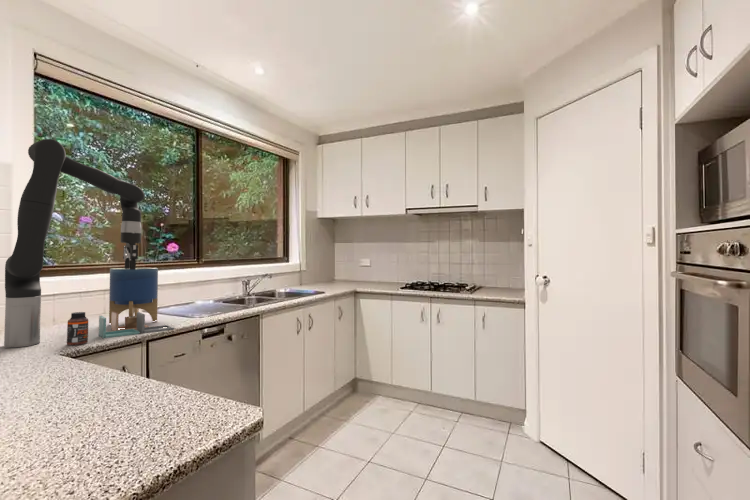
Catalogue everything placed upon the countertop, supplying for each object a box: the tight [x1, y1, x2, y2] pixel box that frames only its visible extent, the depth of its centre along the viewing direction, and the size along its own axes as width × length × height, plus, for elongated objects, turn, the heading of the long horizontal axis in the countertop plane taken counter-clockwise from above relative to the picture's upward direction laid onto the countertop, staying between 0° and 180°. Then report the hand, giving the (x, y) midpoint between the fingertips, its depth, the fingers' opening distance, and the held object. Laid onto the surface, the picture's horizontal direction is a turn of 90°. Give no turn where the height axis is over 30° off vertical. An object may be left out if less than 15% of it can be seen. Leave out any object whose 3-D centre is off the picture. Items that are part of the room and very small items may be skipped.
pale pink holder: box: [110, 311, 150, 331], centre depth 159 cm, size 12×9×8 cm
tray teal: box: [98, 315, 140, 340], centre depth 148 cm, size 12×9×8 cm
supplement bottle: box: [66, 311, 89, 346], centre depth 133 cm, size 6×6×11 cm
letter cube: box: [124, 315, 137, 329], centre depth 160 cm, size 5×5×5 cm
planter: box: [108, 267, 159, 324], centre depth 175 cm, size 19×19×26 cm
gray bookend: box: [137, 312, 175, 334], centre depth 157 cm, size 12×9×8 cm
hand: (129, 269), depth 160 cm, fingers open, 8 cm apart
